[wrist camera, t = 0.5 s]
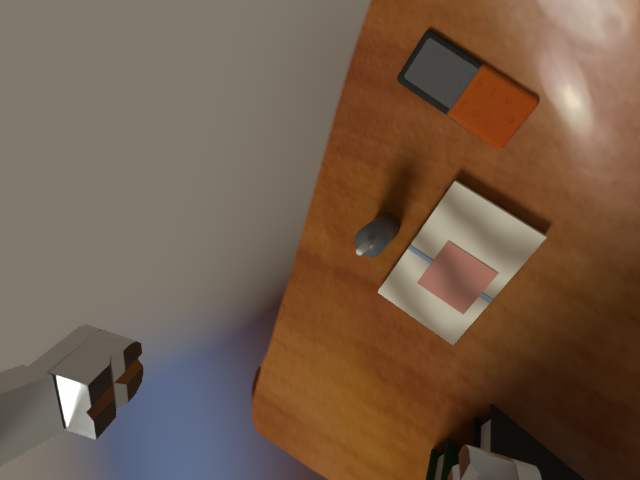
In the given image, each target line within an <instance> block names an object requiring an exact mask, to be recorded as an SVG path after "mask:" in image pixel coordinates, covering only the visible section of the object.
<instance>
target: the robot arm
mask: <svg viewBox="0 0 640 480" xmlns="http://www.w3.org/2000/svg"><path fill="white" fill-rule="evenodd" d="M141 354H142V349H141V343H139V342H137V341H134V340H131V339H128V338H125V337H123V336H119V335H117V334H114V333H111V332H108V331H105V330H102V329H99V328H96V327H92V326H90V325H87V324H86V325H83V326H80V327H78V328H77V329H75V330H74V331H73V332H71V333H70V334H69V335H68V336H66V337H65V338H64V339H63V340H61V341H60V342H59V343H57V344H56V345H55V346H54V347H52V348H51V349H50V350H49V351H47V352H46V353H45V354H43V355H42V356H41V357H39V358H38V359H37V360H36V361H34V362H33V363H32V364H31V365H29V366H24V365H21V366H18V367H15V368H12V369H8V370H5V371H3V372H0V467H1V466H3V465H4V464H6V463H8V462H10V461H12V460H13V459H15V458H17V457H19V456H21V455H22V454H24V453H26V452H28V451H30V450H31V449H33V448H35V447H37V446H39V445H41V444H43V443H44V442H46V441H48V440H50V439H52V438H53V437H55V436H57V435H59V434H61V433H63V432H64V429H65V430H68V431H71V432H74V433H77V434H80V435H83V436H87V437H90V438H92V439H95V440H97V438H98V437H99V436H100V435H101V434H102V433H103V431H104V430H105V429H106V428H107V427H108V426H109V424H110V423H111V422H112V421H113V420H114V419H115V417H116V408H117V407H120V406H122V405H124V404H126V403H128V402H129V401H130V400H131V399H132V397H133V396H134V395H135V394H136V392H137V390H138V388H139V386H140V384H141V382H142V377H143V366H142V364H141V363H140V361H139V360H138V357H139V356H140V355H141ZM458 455H459V464H457V465H455V466H453V467H452V468H451V471H450V473H449V475H448V479H447V480H542V478H541V475H540V471H539V470H538V468H537V467H536V466H534V465H531V464H528V463H524V462H521V461H518V460H515V459H510V458H509V457H506V456H503V455H500V454H496V453H493V452H490V451H486V450H483V449H480V448H476V447H473V446H470V445H466V444H465V445H464V446H463V447H462V448H461V450H460V452H459V454H458Z"/></svg>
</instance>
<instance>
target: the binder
mask: <svg viewBox="0 0 640 480" xmlns="http://www.w3.org/2000/svg"><path fill="white" fill-rule="evenodd" d="M472 446H473V447H476V448H480V449H483V450H486V451H490V452H493V453H496V454H500V455H503V456H506V457H509V458H510V459H515V460H518V461H521V462H524V463H528V464H531V465H534V466H536V467H537V468H538V470H539V471H540V475H541V478H542V480H585V479H583V478H582V477H581V476H580V475H578V474H577V473H576V472H575V471H574V470H572V469H571V468H570V467H569V466H567V465H566V464H565V463H564V462H563V461H561V460H560V459H559V458H558V457H556V456H555V455H554V454H553V453H552V452H550V451H549V450H548V449H547V448H545V447H544V446H543V445H542V444H541V443H539V442H538V441H537V440H536V439H534V438H533V437H532V436H531V435H530V434H528V433H527V432H526V431H525V430H523V429H522V428H521V427H520V426H519V425H517V424H516V423H515V422H514V421H512V420H511V419H510V418H509V417H508V416H506V415H505V414H504V413H503V412H501V411H500V410H499V409H498V408H497V407H495V406H494V405H493V404H491V419H490V420H489V421H488V422H486V423H485V424H482V423H481V422H480V421H479V420H478V419H477V418H475V417H474V418H473V432H472ZM460 450H461V448H459V447H458V446H457V445H456V444H455V443H454V442H452V441H451V440H450V439H449V438H447V439H446V446H445V452H444V454H443V455H441V456H440V455H439V454H438V453H437V452H435V451H434V450H433V449H432V450H431V455H430V460H429V466H428V471H427V476H426V480H447V479H448V475H449V473H450V471H451V468H452V467H453V466H455V465H457V464H459V455H458V454H459V452H460Z"/></svg>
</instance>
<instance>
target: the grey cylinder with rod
mask: <svg viewBox="0 0 640 480" xmlns="http://www.w3.org/2000/svg"><path fill="white" fill-rule="evenodd" d="M398 232H399V223H398V221H397V220H396V218H395V217H393V216H392V215H389V214H381V215H379V216H378V217H376V218H375V219H374V220H372V221H371V222H370V223H369V224H367V225H366V226H365V227H363V228H362V229H361V230H360V231H359V232H358V233H357V234H356V237H355V245H356V248H357V249H356V253H357V254H358V255H362V254H363V255H365V256H367V257H374V256H377V255H379V254H380V253H381V252H382V251H383V250H384V249H385V248H386V247H387V245H388V244H389V243H390V242H391V241H392V240H393V239H394V238H395V236H396V235H397V234H398Z"/></svg>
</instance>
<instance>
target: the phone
mask: <svg viewBox="0 0 640 480" xmlns="http://www.w3.org/2000/svg"><path fill="white" fill-rule="evenodd" d="M397 80H398V82H399V83H400V84H402V85H403V86H405V87H406V88H408V89H409V90H411V91H412V92H413V93H415V94H416V95H418V96H419V97H421V98H422V99H424V100H425V101H427V102H428V103H430V104H431V105H433V106H434V107H436V108H437V109H438V110H440V111H441V112H443V113H444V114H446V115H447V116H449V117H450V118H451V119H453V120H454V121H456V122H457V123H459V124H460V125H462V126H463V127H465V128H466V129H468V130H469V131H471V132H472V133H474V134H475V135H477V136H478V137H480V138H481V139H483V140H484V141H486V142H487V143H489V144H490V145H491V146H493V147H494V148H496V149H501V148H503V147H504V145H505V144H506V143H507V142H508V141H509V139H510V138H511V137H512V136H513V134H514V133H515V132H516V131H517V129H518V128H519V127H520V126H521V125H522V123H523V122H524V121H525V120H526V119H527V117H528V116H529V115H530V114H531V113H532V111H533V110H534V109H535V108H536V107H537V105H538V103H539V100H538V98H536V97H535V96H533V95H532V94H530V93H529V92H527V91H526V90H524V89H522V88H521V87H519V86H518V85H516V84H515V83H513V82H512V81H510V80H508V79H507V78H505V77H504V76H502V75H501V74H499V73H498V72H496V71H494V70H493V69H491V68H490V67H488V66H487V65H485V64H484V63H482V62H480V61H479V60H477V59H476V58H474V57H473V56H471V55H470V54H468V53H466V52H465V51H463V50H462V49H460V48H459V47H457V46H456V45H454V44H452V43H451V42H449V41H448V40H446V39H445V38H443V37H442V36H440V35H438V34H437V33H435V32H434V31H432V30H428V31H426V32H425V34H424V35H423V37H422V39H421V40H420V42H419V43H418V45H417V47H416V48H415V50H414V51H413V53H412V54H411V56H410V58H409V59H408V61H407V62H406V64H405V66H404V67H403V69H402V70H401V72H400V73H399V75H398V77H397Z"/></svg>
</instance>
